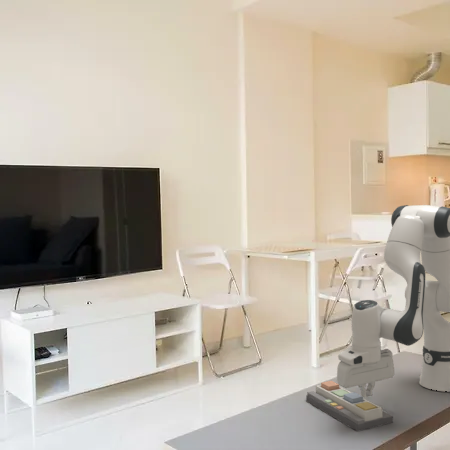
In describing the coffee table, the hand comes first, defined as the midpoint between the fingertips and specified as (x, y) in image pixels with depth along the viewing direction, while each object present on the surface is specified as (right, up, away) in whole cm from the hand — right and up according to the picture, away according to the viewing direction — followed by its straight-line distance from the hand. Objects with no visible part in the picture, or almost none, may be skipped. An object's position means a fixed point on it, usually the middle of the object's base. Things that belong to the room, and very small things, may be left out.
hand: (366, 395), depth 170 cm
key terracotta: (-8, -3, +17) cm, 19 cm away
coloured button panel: (-4, -8, +8) cm, 12 cm away
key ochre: (0, -5, 0) cm, 5 cm away
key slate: (-3, -4, +5) cm, 7 cm away
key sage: (-6, -5, +11) cm, 13 cm away
